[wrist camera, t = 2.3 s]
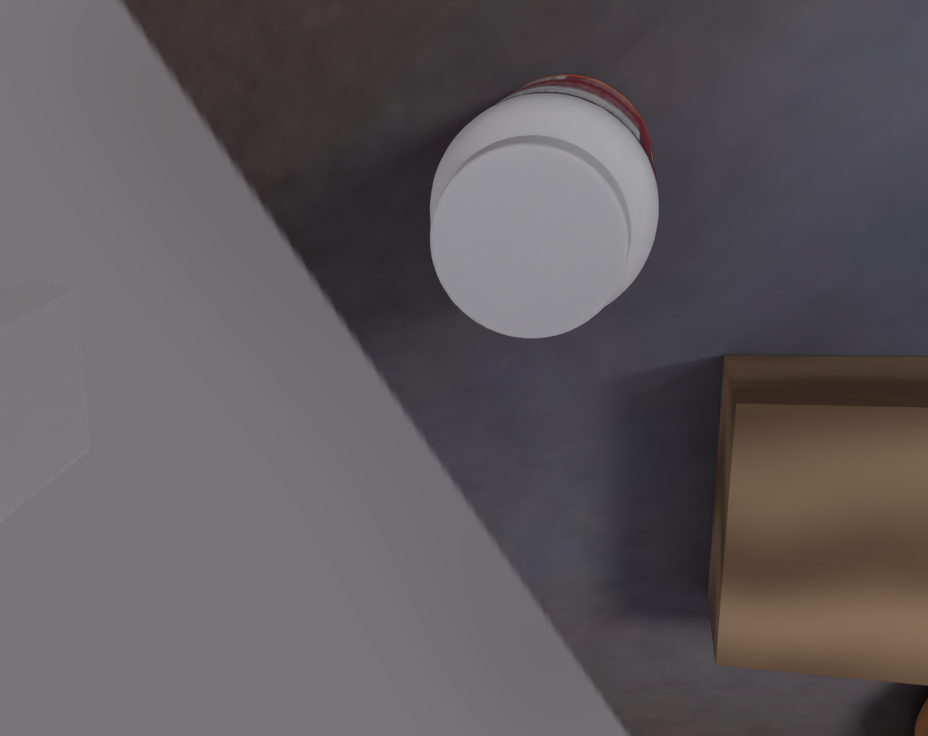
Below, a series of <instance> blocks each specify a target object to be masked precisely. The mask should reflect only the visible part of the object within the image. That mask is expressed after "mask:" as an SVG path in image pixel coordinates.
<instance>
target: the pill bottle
mask: <svg viewBox="0 0 928 736" xmlns="http://www.w3.org/2000/svg"><path fill="white" fill-rule="evenodd" d="M658 216H659V199H658V187H657V181H656V173H655V169H654V161H653V153H652V147H651V141H650V138H649V135H648V132H647V129H646V127H645V124H644V122H643V120H642V119H641V117H640V115H639V114H638V112H637V111H636V109H635V108H634V107H633V106H632V104H631V103H630V102H629V101H628V100H627V99H626V98H625V97H624V96H622V95H621V94H620V93H619V92H617V91H616V90H615V89H613V88H611V87H610V86H608V85H606V84H604V83H602V82H600V81H598V80H595V79H592V78H588V77H584V76H578V75H555V76H550V77H545V78H542V79H538V80H535V81H533V82H531V83H528V84H526V85H525V86H523V87H521V88H519V89H518V90H516V91H515V92H513V93H511V94H510V95H508V96H507V97H505V98H503V99H502V100H501V101H499V102H498V103H496V104H495V105H493V106H491V107H489V108H488V109H486V110H485V111H483V112H482V113H480V114H479V115H478V116H477V117H476V118H474V119H473V120H472V121H471V122H470V123H469V124H467V125H466V126H465V127H464V128H463V129H462V130H461V131H460V132H459V134H458V135H457V136H456V137H455V138H454V140H453V141H452V142H451V144H450V145H449V147H448V148H447V150H446V152H445V154H444V155H443V157H442V159H441V161H440V164H439V166H438V168H437V171H436V174H435V177H434V181H433V186H432V192H431V200H430V221H431V228H430V248H431V256H432V260H433V264H434V267H435V270H436V274H437V276H438V278H439V280H440V283H441V284H442V286H443V288H444V289H445V291H446V292H447V294H448V295H449V297H450V298H451V300H452V301H453V302H454V303H455V304H456V305H457V306H458V307H459V308H460V309H461V310H462V311H463V312H464V313H465V314H466V315H468V316H469V317H470V318H471V319H473V320H474V321H476V322H477V323H479V324H481V325H483V326H484V327H486V328H488V329H490V330H493V331H495V332H498V333H501V334H504V335H508V336H513V337H519V338H545V337H550V336H556V335H559V334H562V333H565V332H568V331H570V330H572V329H574V328H576V327H578V326H580V325H582V324H584V323H585V322H587V321H588V320H590V319H591V318H592V317H593V316H595V315H596V314H597V313H598V312H599V311H600V310H601V309H602V308H603V307H605V306H607V305H608V304H609V303H611V302H612V301H614V300H615V299H616V298H617V297H618V296H619V295H621V294H622V293H623V292H624V291H625V290H626V289H627V288H628V287H629V286H630V285H631V283H632V282H633V281H634V280H635V279H636V277H637V276H638V274H639V273H640V271H641V270H642V268H643V266H644V264H645V262H646V260H647V258H648V256H649V254H650V251H651V249H652V245H653V242H654V239H655V234H656V230H657V224H658Z"/></svg>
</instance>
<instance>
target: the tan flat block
mask: <svg viewBox="0 0 928 736" xmlns="http://www.w3.org/2000/svg"><path fill="white" fill-rule="evenodd" d="M708 603H709V612H710V621H711V629H712V638H713V646H714V655H715V663H716V665H722V666H732V667H742V668H753V669H763V670H773V671H783V672H794V673H804V674H814V675H825V676H835V677H845V678H855V679H866V680H876V681H886V682H896V683H907V684H917V685H927V686H928V357H898V356H782V355H724V365H723V380H722V395H721V409H720V424H719V438H718V453H717V468H716V482H715V497H714V511H713V526H712V541H711V555H710V570H709V584H708Z"/></svg>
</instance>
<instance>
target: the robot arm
mask: <svg viewBox="0 0 928 736" xmlns="http://www.w3.org/2000/svg"><path fill="white" fill-rule="evenodd" d="M89 450H90V440H89V429H88V418H87V406H86V395H85V384H84V372H83V361H82V349H81V338H80V327H79V316H78V304H77V293H76V289H73V288H69V287H65V286H61V285H57V284H53V283H48V282H45V281H40V280H36V279H32V278H28V277H27V278H25V279H23V280H21V281H18V282H16V283H14V284H11V285H9V286H7V287H5V288H2V289H0V522H1V521H2V520H3V519H5V518H6V517H7V516H8V515H10V514H11V513H12V512H13V511H15V510H16V509H17V508H18V507H20V506H21V505H22V504H23V503H24V502H26V501H27V500H28V499H30V498H31V497H32V496H33V495H34V494H36V493H37V492H38V491H39V490H40V489H42V488H43V487H44V486H45V485H47V484H48V483H49V482H51V481H52V480H53V479H54V478H56V477H57V476H58V475H59V474H60V473H62V472H63V471H64V470H65V469H66V468H68V467H69V466H70V465H72V464H73V463H74V462H75V461H77V460H78V459H79V458H80V457H82V456H83V455H84V454H85V453H87V452H88V451H89Z"/></svg>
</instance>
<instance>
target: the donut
mask: <svg viewBox="0 0 928 736" xmlns="http://www.w3.org/2000/svg"><path fill="white" fill-rule="evenodd" d="M915 736H928V698H927V699H926V701H925V703H924V705H923V707H922V708H921V710H920V713H919V715H918V718H917V720H916V725H915Z"/></svg>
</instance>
